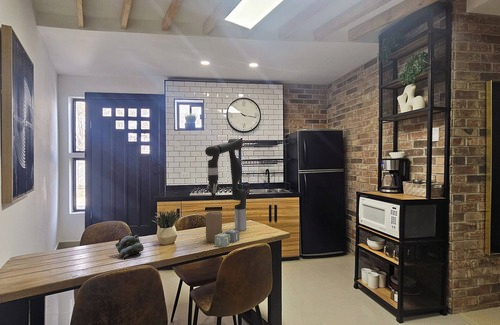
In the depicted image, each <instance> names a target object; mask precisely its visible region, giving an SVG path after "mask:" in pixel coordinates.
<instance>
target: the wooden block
mask: <svg viewBox="0 0 500 325" xmlns="http://www.w3.org/2000/svg"><path fill="white" fill-rule="evenodd" d="M222 216H223V214H222V212H221V211H209V212H207V213H206V214H205V241H206V243H215V235H217V234H220V233H223V217H222Z"/></svg>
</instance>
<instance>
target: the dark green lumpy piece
mask: <svg viewBox="0 0 500 325" xmlns="http://www.w3.org/2000/svg"><path fill="white" fill-rule="evenodd" d="M115 247H116V250H117V252H118V256H119V258H120V257H121V258H120V259H122V258H124V259H125V258H127V257H130V256H132V255H135V254H139V253H141V252H143V251H144V249H145V248H144V245H143V244H142V243H141V240H140V238H139V235H138V234H133V233H131V234H129V235H126V236H124V237H123V238H119V239H118V241H117V242H116V243H115Z"/></svg>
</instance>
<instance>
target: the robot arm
mask: <svg viewBox="0 0 500 325" xmlns="http://www.w3.org/2000/svg"><path fill="white" fill-rule="evenodd" d="M243 144H244V143H243V140H242V139H241V138H230V139H228V140H227V142H224V143H220V144H217V145H209V146H207V147H206V148H205V150H204V152H205V155H206V156H208V157H212V158H211V159H208V161H207V181H208V184H207V185H206V187H205V188H206V189H207V191H208V193H210V194H211V196H210V197H211V199H216V194H217V192H218V191H219V189H220V187H221V184H219V183H218V181H219V158H220V155H221V154H224V153H227V152H228V156H229V163H230V175H231V195H232V196H231V197H232V200H233V201H239V203H238V204H235V205H234V230H237V231H239V232H240V231H241V232H242V231H247V226H248V225H247V214H246V212H247V211H246V210H247V209H246V208H247V207H246V206H247V191H246V190H245V189H239V188H238V186H239V185H238V184H239V182H240V179H241V178H242V176H243V166H242V164H241V161H240V160H239V158H237V154H236V151H239V150H241V149H242V148H243Z"/></svg>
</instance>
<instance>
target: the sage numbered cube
mask: <svg viewBox="0 0 500 325" xmlns="http://www.w3.org/2000/svg"><path fill="white" fill-rule="evenodd" d="M214 246H215V247H220V248H224V247H227V246H230V242H229V234H226V233H223V232H222V233H220V234H217V235H215V242H214Z"/></svg>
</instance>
